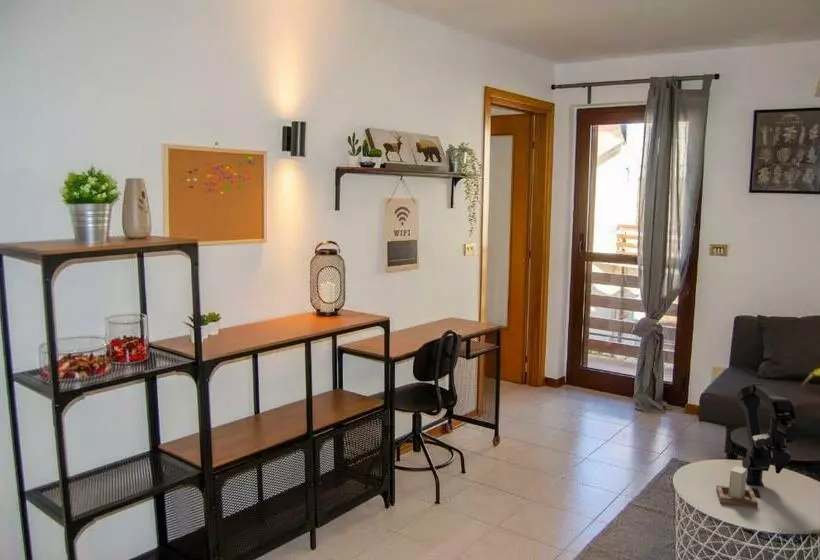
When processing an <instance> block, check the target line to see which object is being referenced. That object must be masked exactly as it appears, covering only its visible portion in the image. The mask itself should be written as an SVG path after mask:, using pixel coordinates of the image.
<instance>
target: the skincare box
mask: <svg viewBox="0 0 820 560" xmlns="http://www.w3.org/2000/svg"><path fill="white" fill-rule="evenodd" d="M746 477H747V469H746V468H744V467H743V466H739V465H735V466H734V467H732V468H731V470H730V475H729V485H728V487H729V495H728V497H733V498H741V499H743V498H744V496H745V489H746V485H747V484H746Z"/></svg>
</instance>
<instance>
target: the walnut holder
mask: <svg viewBox="0 0 820 560" xmlns="http://www.w3.org/2000/svg"><path fill="white" fill-rule="evenodd" d="M715 489H716V494H717V498H718V501H719V504H722V505H729V506H735V507H743V508H749V509H751V508H752V509H758V504H759V502H758V500H757V498H756V495H755V493H754V490H753V489H748V488H745V496H744V498H743V499H741V498H733V497H728V495H729V486H725V485H718V484H716V488H715Z"/></svg>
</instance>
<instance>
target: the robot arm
mask: <svg viewBox="0 0 820 560" xmlns="http://www.w3.org/2000/svg"><path fill="white" fill-rule="evenodd" d="M736 399H737V400H738V404H739V407H741V409H742V410H743V411H744V416H745V417H744V418H745V424H746V425H745V426H746V430H747V438H748V444H749V447H748V448H747V450H746V457H745V458H744V459H743V460H742V461H741V464H742V466H741V467H743V468H746V469H747V475H746V485H748V486H756V487H762V488H764V487H765V485H764V482H763V474H764V472H768V471H769V469H770V466H771V464H772V465H774V470H775V473H776V474H780V473H781V471H782V470H783V469H784V467H785V466H786V465H787V464H788V463H789V462H791V461H792V455H791V453H790V452H789V451H788V450H787V449H788V448H787V447H788V446H787V444H786V443H787V440H790V441H796V440H798V439H799V438H800V437H801V435H802V431H801V428H800V427H799V426H797V422H796V421H797V413H796V411H795V408H794V405H793V403H792V401H791V400H790V399H789V398H787V397H783V396H779V395H777V394H775V393H774V392H773V391H771V390H770V389H769V388H767V387H766V386H765V384H763V383H750V384H749V385H748V386H745V387H743V388H741V389H740V390H739V391H737V394H736ZM761 401H762V402H764V403H765V404H767V409H768V411H769V413H768V415H769V416H770V424H769V425H770V426H769V429H768V430H767V431H766V432H767V433H761V432H762V431H761V426H760V420H759V419H760V418H759V415H758V414H759V412H758V410H759V407H760V405H761Z"/></svg>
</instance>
